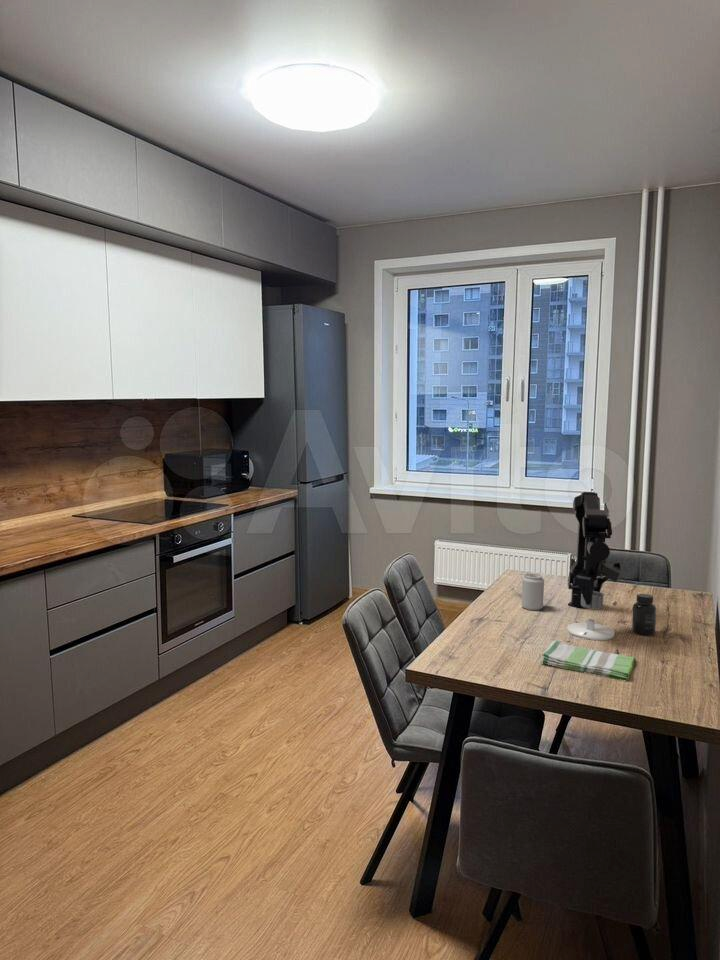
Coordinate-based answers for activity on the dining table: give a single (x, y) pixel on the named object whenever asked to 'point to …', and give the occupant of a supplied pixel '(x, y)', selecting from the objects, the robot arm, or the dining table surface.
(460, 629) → the dining table surface
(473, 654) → the dining table surface
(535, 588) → the can
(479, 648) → the dining table surface
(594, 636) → the shaft hub
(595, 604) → the grey segmented ring
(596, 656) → the dish towel
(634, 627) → the supplement bottle
